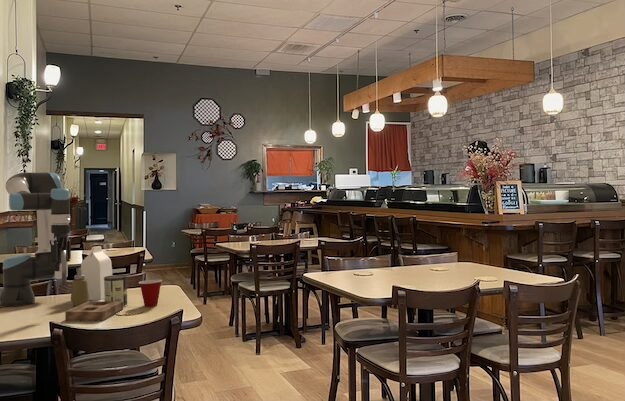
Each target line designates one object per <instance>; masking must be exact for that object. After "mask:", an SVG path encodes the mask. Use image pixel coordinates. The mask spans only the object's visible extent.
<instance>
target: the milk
mask: <svg viewBox="0 0 625 401" xmlns="http://www.w3.org/2000/svg"><path fill="white" fill-rule="evenodd" d="M112 265H113V264H112V260H111V258H110V257H109V256H108V255H107V254H106V253H105V252H104V251H103V248H102V246H101V245H100V246H99V245H98V246H93V247H92V246H91V251H90V253H89V254H88V255H87V256H86V257H85V258H84V259H83V260H82V261H81V264H80V268H81V270H82V274H83V275H85V279H86V280H87V284H88V292H89V299H88V301H90V300H91V301H102V300H105V295H104V277H106V276H112V275H113V266H112Z"/></svg>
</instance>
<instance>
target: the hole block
mask: <svg viewBox="0 0 625 401" xmlns="http://www.w3.org/2000/svg"><path fill="white" fill-rule="evenodd" d="M122 310H123V311H124V307H123V302H121V301H105V300H103V301H102V300H91V301H90V300H88V302H86V303H84V304H81V305H79V306H74V307H72V308H70V309H68V310H66V311H64V314H65V318H64V321H65V322H104V321H106V320H108V319H110V318H111V317H113V316H115V315H117V314H118V312H119V313H121V312H123V311H122ZM120 311H121V312H120ZM116 313H117V314H116Z"/></svg>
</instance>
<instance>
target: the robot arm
mask: <svg viewBox="0 0 625 401" xmlns="http://www.w3.org/2000/svg"><path fill="white" fill-rule="evenodd" d="M5 190H6V192H7V193H8V206H9V210H11V211H19V212H20V211H36V220H37V221H36V223H37V247H38V248H37V250H36V251H35V253H34V256H32V255H31V254H29V253H25V254H18V255H13V256H9V257H6V258H4V259H3V261H2V274H3V275H2V280H3V282H2V283H3V284H2V286H3V289H2V291H1V294H0V307H5V308H6V307H9V308H10V307H20V306H28V305H31V304H34V303H35V302H36V297H35V293H34V291H33V289H32V281H41V280H42V281H43V280H53V279H55V280H56V279H62V263H60V262H61V252H62V250H66V277H68V275H69V274H68V273H69V272H68V271H69V270H68V267H69V266H68V264H69V263H68V262H70V261H71V257H72V256H71V253H72V249H71V248H72V236H70V237H69V235H68V234H70V233H71V224H70V223H71V194H70V189H69V188H62V181H61V178H60V176H59V175H58V173H55V172H28V171H25V172H20V173H19V172H18V173H16V174H14V175H12V176H10V177H9V178H8V179H7V180H6V181H5Z"/></svg>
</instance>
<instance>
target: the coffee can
mask: <svg viewBox="0 0 625 401" xmlns="http://www.w3.org/2000/svg"><path fill="white" fill-rule="evenodd" d="M104 295H105V299H104V301H121V302H123V308H125V307H127V306H128V276H127V275H125V274H115V275H113V274H112V276H106V277H104Z"/></svg>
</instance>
